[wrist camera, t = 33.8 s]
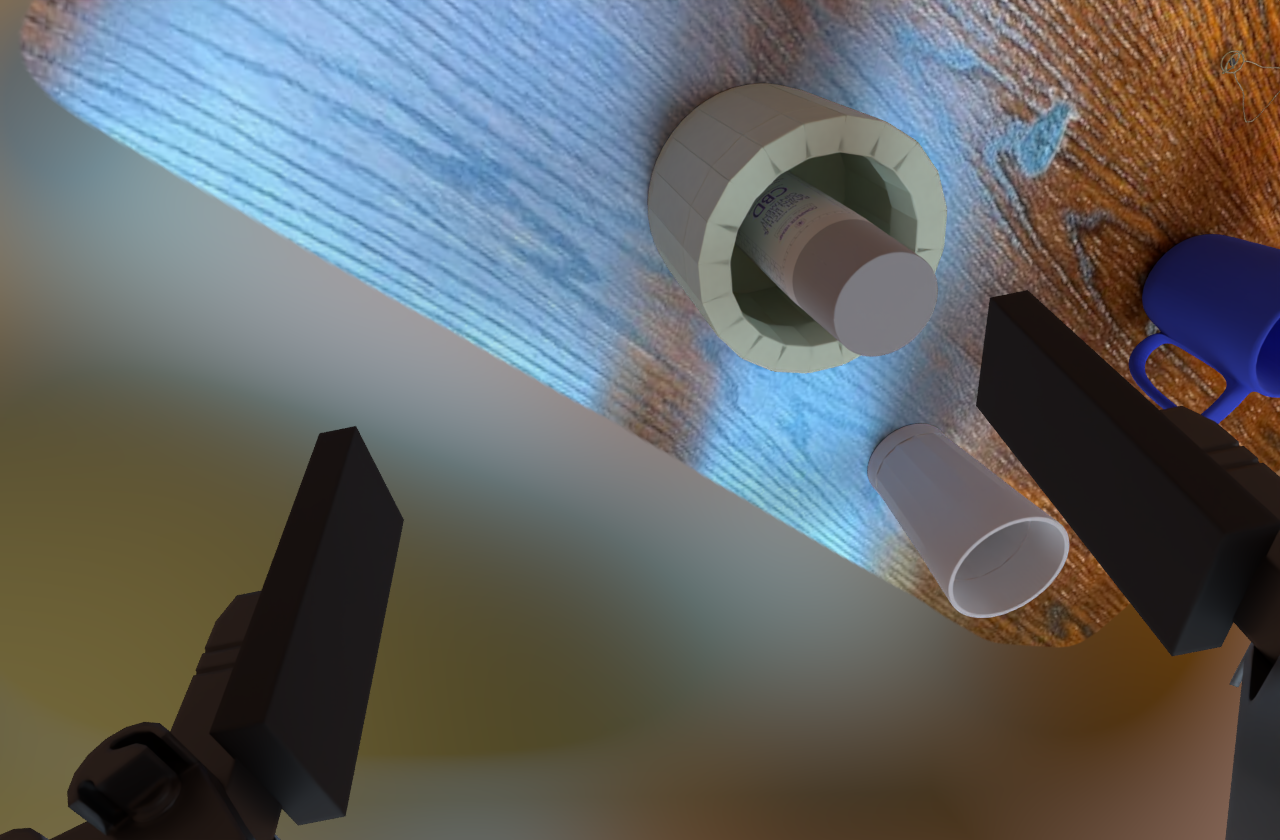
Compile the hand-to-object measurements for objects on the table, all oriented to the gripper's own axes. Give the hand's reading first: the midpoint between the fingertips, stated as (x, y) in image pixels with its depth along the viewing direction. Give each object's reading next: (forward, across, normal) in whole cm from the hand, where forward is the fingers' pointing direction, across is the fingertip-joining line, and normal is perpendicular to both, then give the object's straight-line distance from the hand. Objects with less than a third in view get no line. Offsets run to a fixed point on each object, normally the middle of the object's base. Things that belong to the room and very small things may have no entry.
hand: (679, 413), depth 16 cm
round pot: (+28, +7, -8) cm, 30 cm away
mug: (+31, +36, -22) cm, 53 cm away
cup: (+28, +17, -30) cm, 45 cm away
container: (+28, +7, -8) cm, 30 cm away
